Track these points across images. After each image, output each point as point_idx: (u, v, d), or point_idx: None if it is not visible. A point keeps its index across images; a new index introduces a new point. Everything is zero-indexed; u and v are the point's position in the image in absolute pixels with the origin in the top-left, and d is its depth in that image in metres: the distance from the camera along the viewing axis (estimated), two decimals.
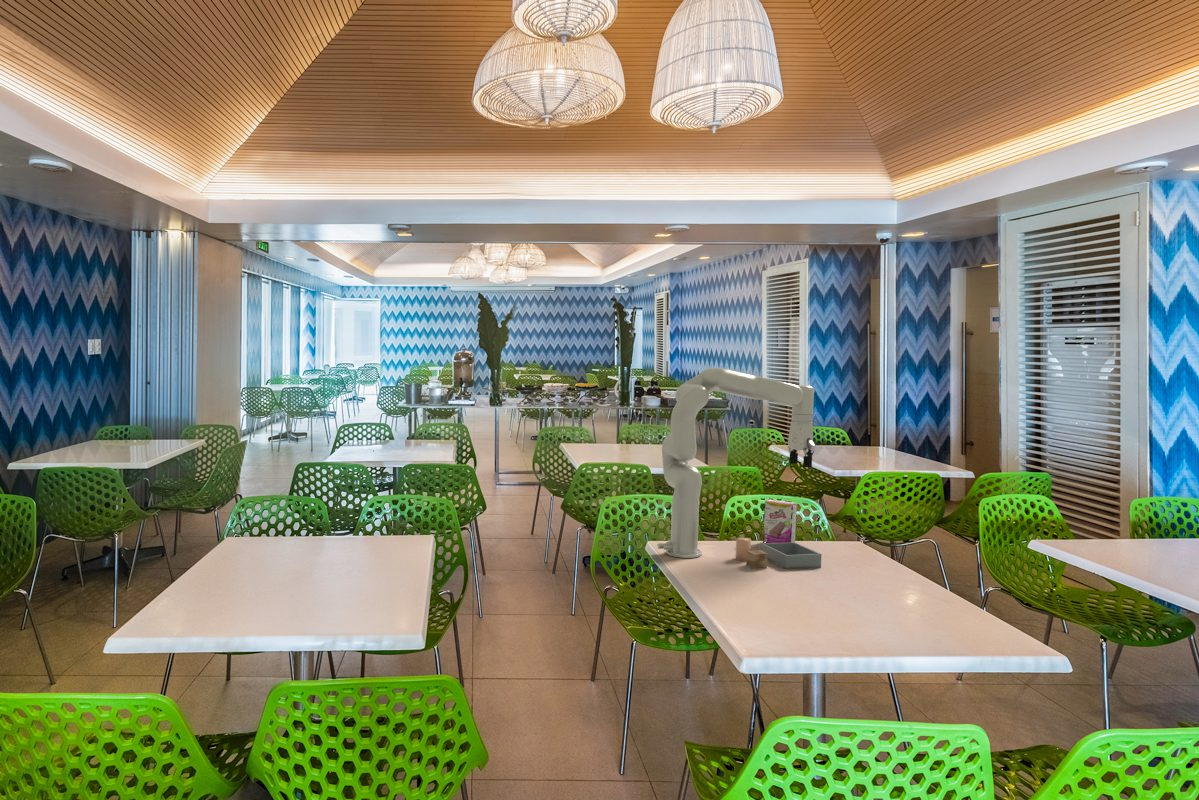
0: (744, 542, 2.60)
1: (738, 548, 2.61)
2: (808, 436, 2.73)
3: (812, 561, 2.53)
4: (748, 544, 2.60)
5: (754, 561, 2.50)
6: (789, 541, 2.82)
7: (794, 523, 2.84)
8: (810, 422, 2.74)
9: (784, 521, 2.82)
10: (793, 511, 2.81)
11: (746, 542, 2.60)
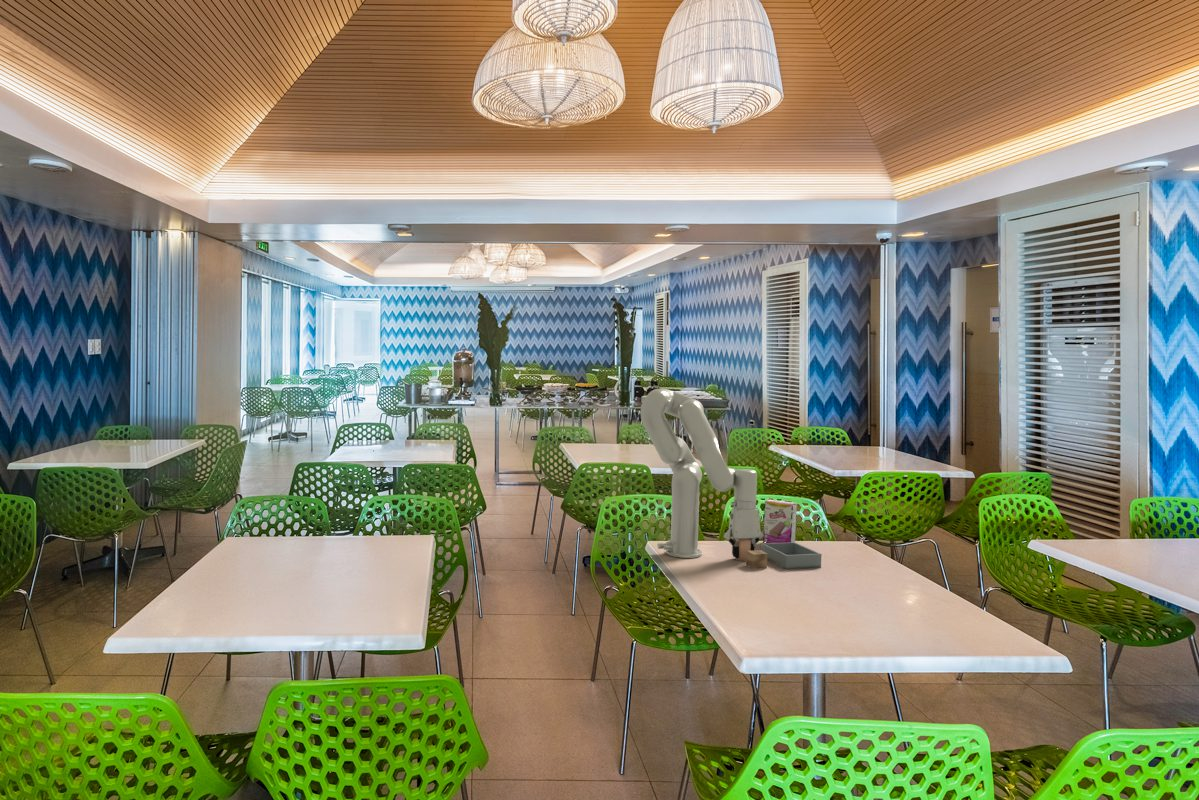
0: (744, 542, 2.60)
1: None
2: None
3: (812, 561, 2.53)
4: (748, 544, 2.60)
5: (754, 561, 2.50)
6: (789, 541, 2.82)
7: (794, 523, 2.84)
8: None
9: (784, 521, 2.82)
10: (793, 511, 2.81)
11: (746, 542, 2.60)
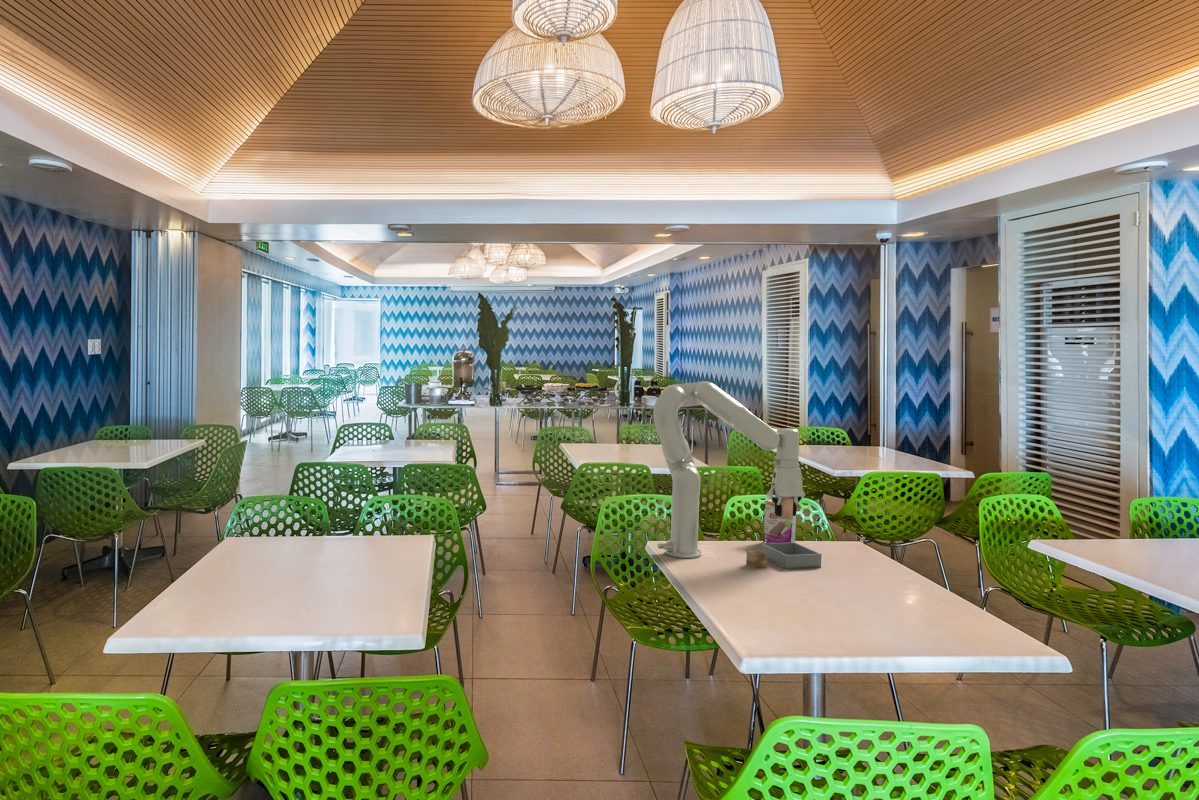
0: (787, 500, 2.62)
1: None
2: None
3: (812, 561, 2.53)
4: (791, 502, 2.62)
5: (754, 561, 2.50)
6: (789, 541, 2.82)
7: (794, 523, 2.84)
8: None
9: (784, 521, 2.82)
10: None
11: (789, 500, 2.62)
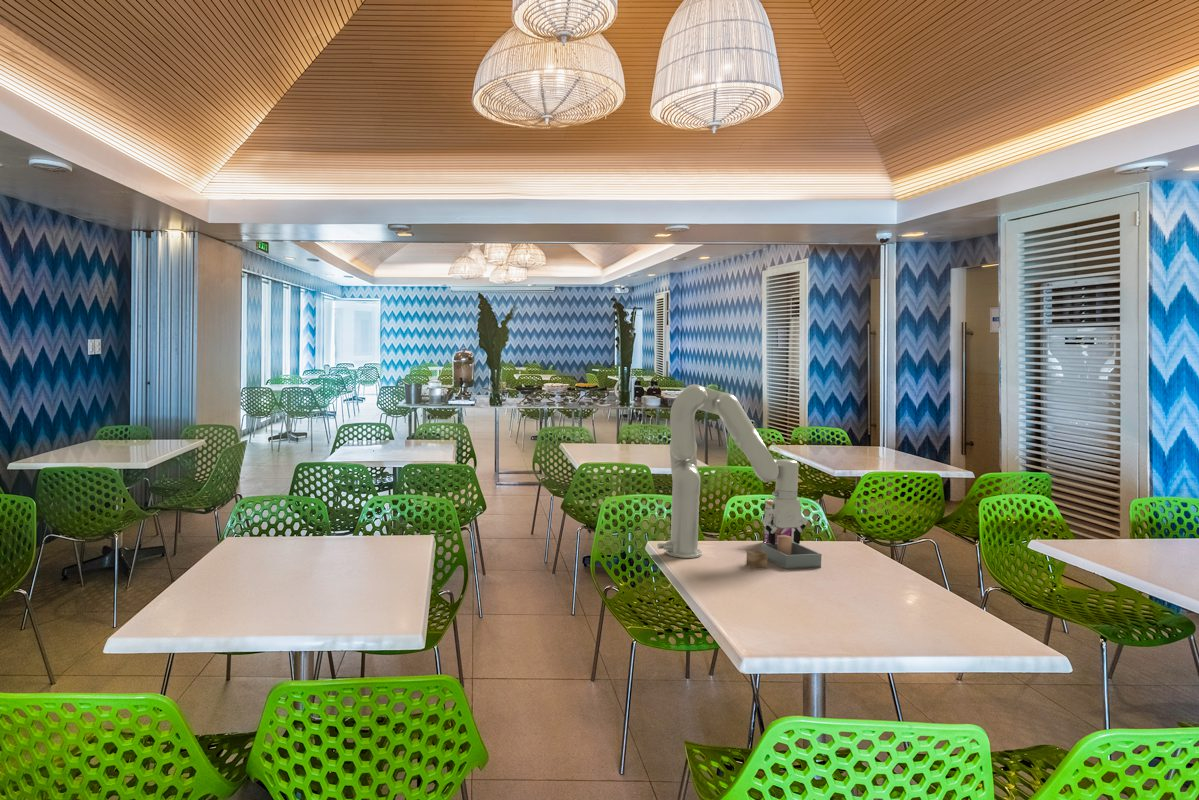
0: (785, 539, 2.63)
1: (779, 545, 2.64)
2: None
3: (812, 561, 2.53)
4: (789, 541, 2.63)
5: (754, 561, 2.50)
6: None
7: None
8: None
9: None
10: None
11: (787, 539, 2.63)
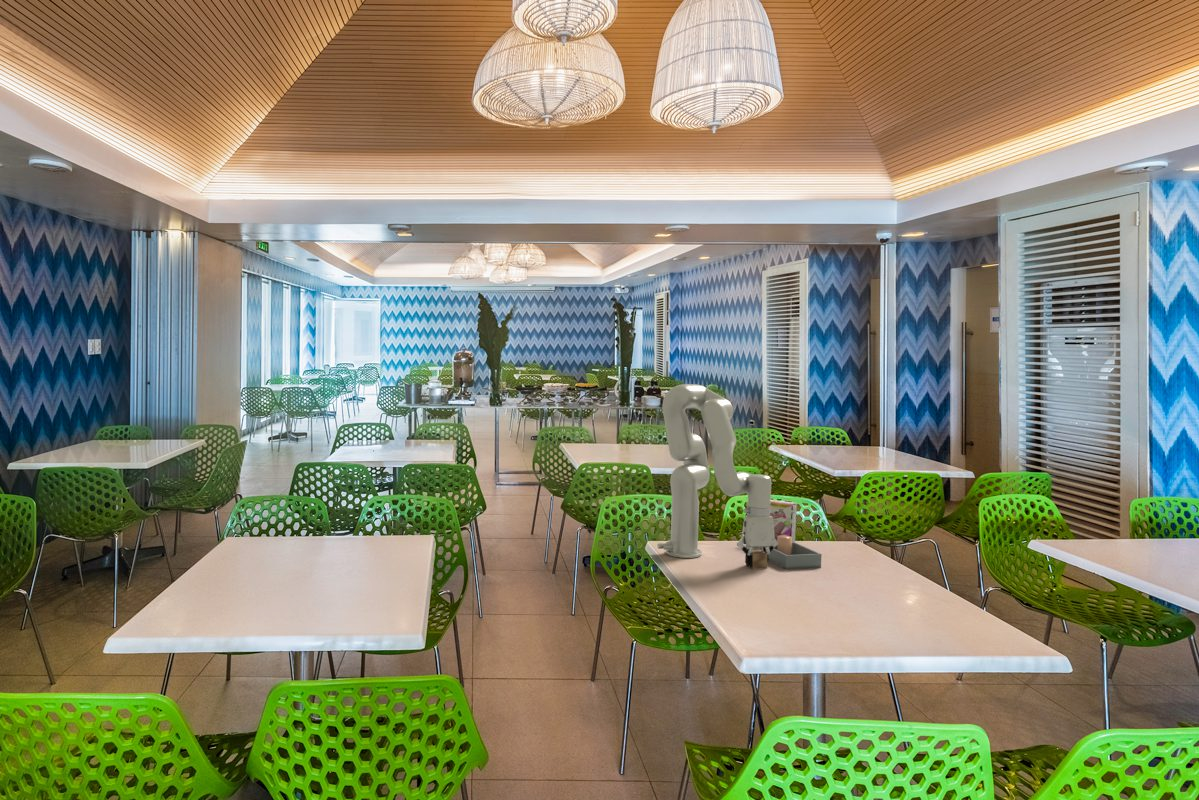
0: (785, 540, 2.62)
1: (779, 545, 2.64)
2: None
3: (812, 561, 2.53)
4: (789, 542, 2.63)
5: (754, 561, 2.50)
6: None
7: (794, 523, 2.84)
8: None
9: (784, 521, 2.82)
10: (793, 511, 2.81)
11: (787, 540, 2.62)
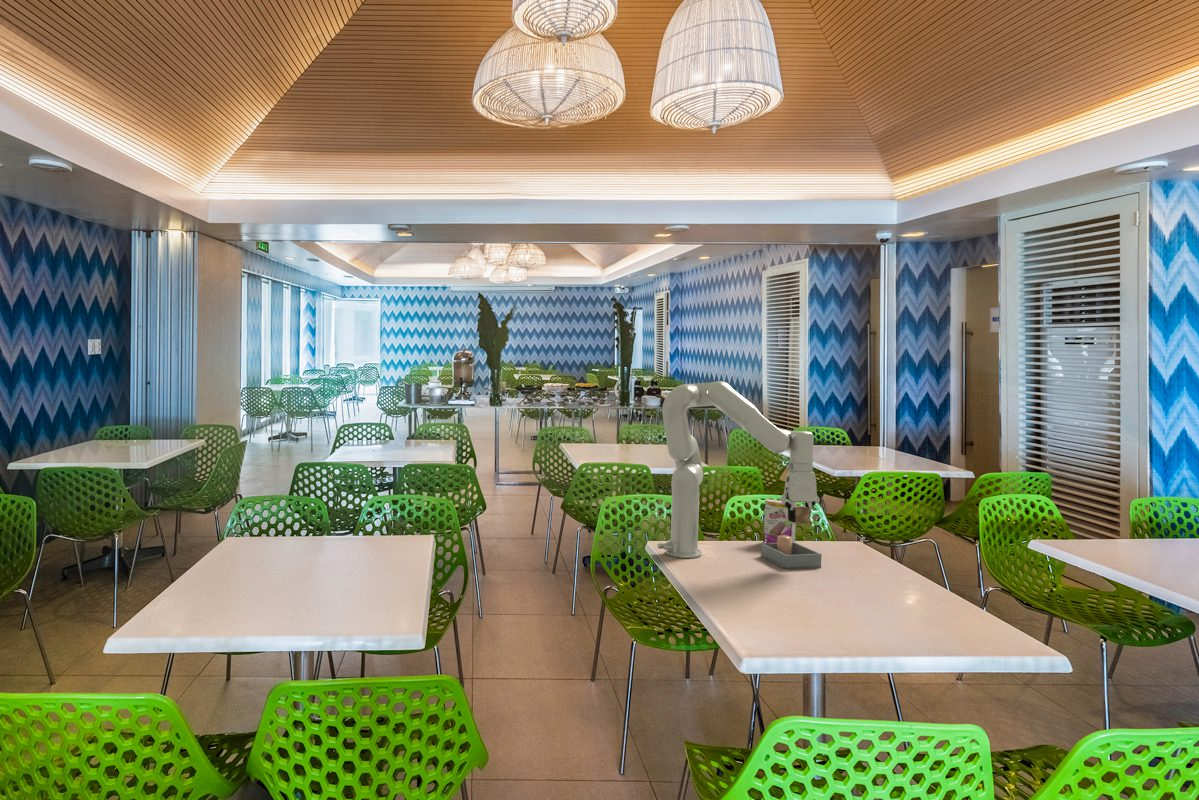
0: (785, 540, 2.62)
1: (779, 545, 2.64)
2: None
3: (812, 561, 2.53)
4: (789, 542, 2.63)
5: (797, 516, 2.53)
6: None
7: (794, 523, 2.84)
8: None
9: (784, 521, 2.82)
10: None
11: (787, 540, 2.62)
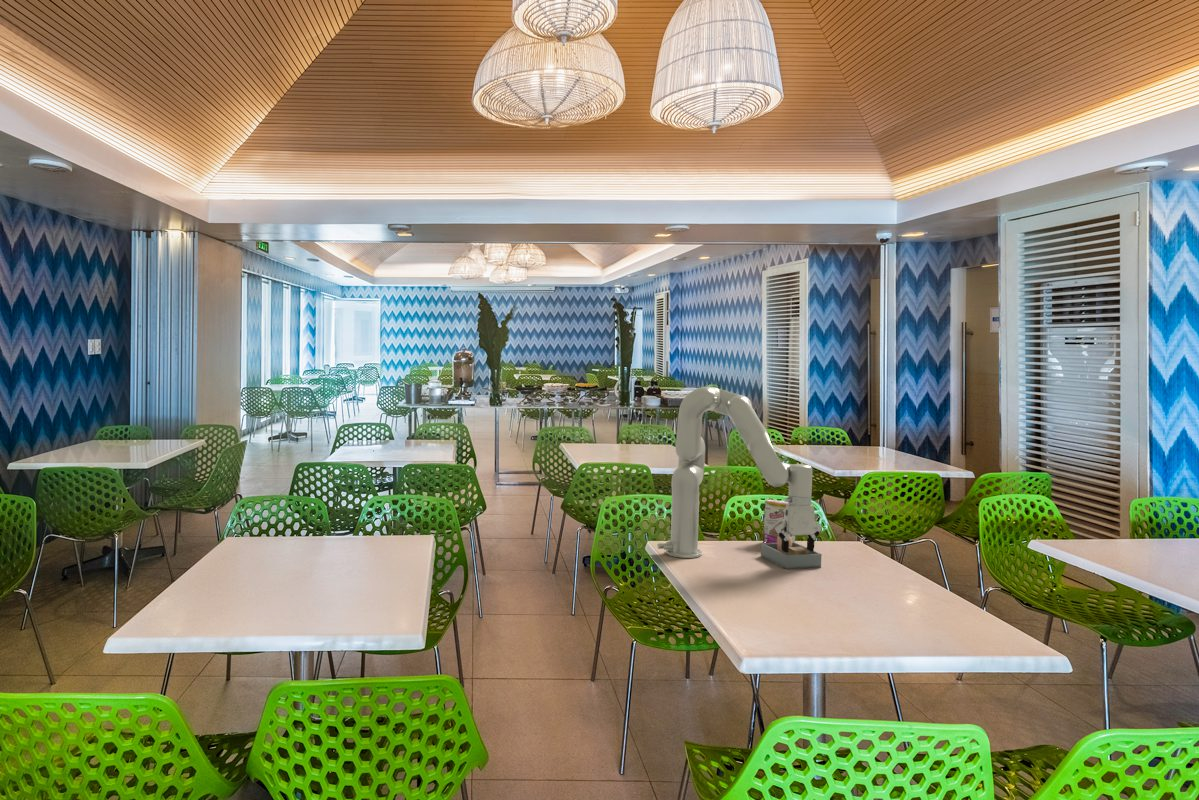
0: None
1: (779, 545, 2.64)
2: None
3: (812, 561, 2.53)
4: (789, 542, 2.63)
5: None
6: None
7: None
8: None
9: None
10: None
11: (787, 540, 2.62)
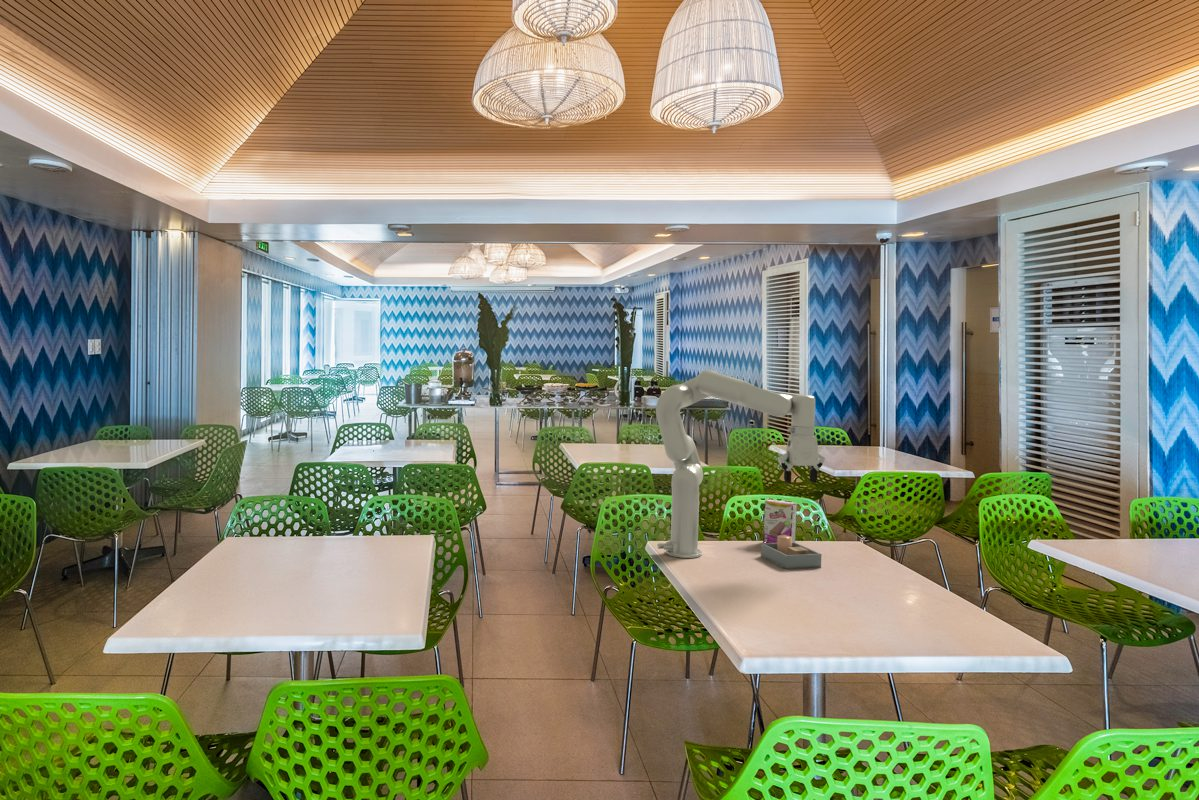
0: (785, 540, 2.62)
1: (779, 545, 2.64)
2: None
3: (812, 561, 2.53)
4: (789, 542, 2.63)
5: None
6: None
7: (794, 523, 2.84)
8: None
9: (784, 521, 2.82)
10: (793, 511, 2.81)
11: (787, 540, 2.62)
